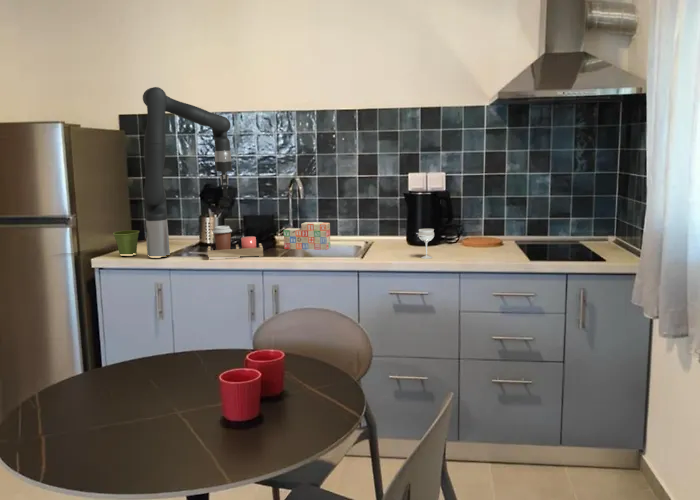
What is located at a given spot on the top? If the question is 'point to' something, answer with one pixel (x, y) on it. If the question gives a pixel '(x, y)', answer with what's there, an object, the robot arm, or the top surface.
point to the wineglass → (426, 238)
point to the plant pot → (127, 241)
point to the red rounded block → (248, 242)
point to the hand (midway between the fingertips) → (225, 196)
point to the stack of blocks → (308, 236)
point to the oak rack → (236, 252)
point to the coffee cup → (222, 237)
